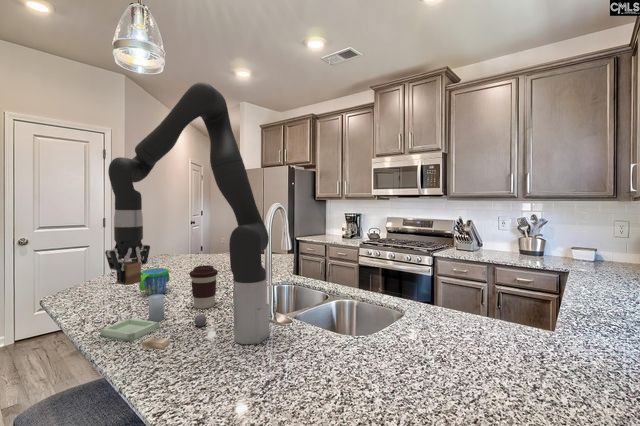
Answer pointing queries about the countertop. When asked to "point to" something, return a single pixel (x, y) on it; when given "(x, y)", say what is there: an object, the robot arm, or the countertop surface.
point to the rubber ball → (200, 320)
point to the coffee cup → (204, 286)
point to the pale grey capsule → (156, 307)
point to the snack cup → (154, 281)
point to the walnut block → (132, 273)
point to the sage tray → (129, 329)
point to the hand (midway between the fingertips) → (129, 280)
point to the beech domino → (155, 343)
